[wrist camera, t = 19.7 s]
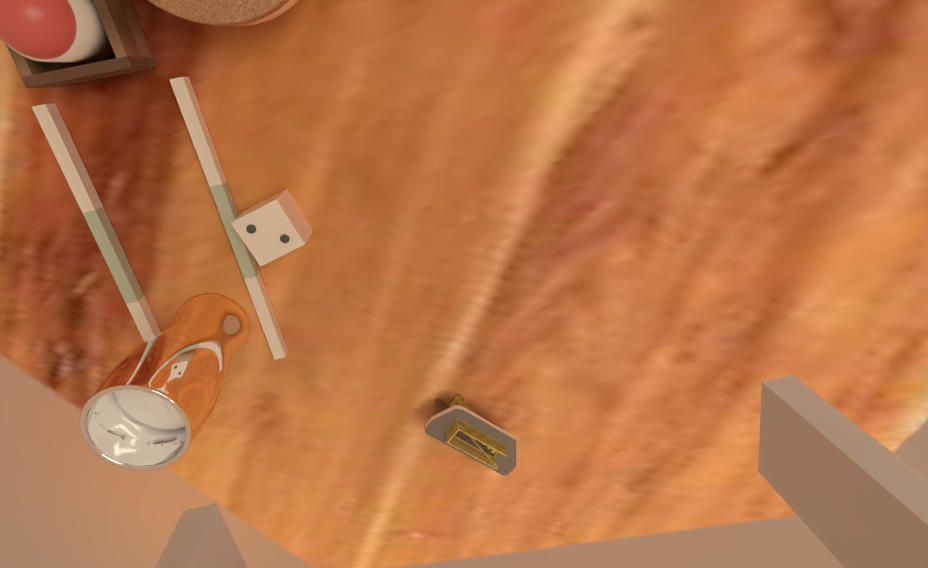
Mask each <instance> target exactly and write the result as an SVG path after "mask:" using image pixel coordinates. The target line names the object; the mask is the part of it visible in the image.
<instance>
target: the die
mask: <svg viewBox="0 0 928 568" xmlns="http://www.w3.org/2000/svg"><path fill="white" fill-rule="evenodd" d="M231 224H232V226H233V227H234V229H235V230H236V232H237V233H238V235H239V236H240V237H241V239H242V240H243V242H244V243H245V245H246V246H247V248H248V249H249V251H250V252H251V253H252V255H253V256H254V258H255V259H256V261H257V262H258V264H259V265H260V267H261V266H263V265H265V264H267V263H269V262H271V261H273V260H275V259H277V258H279V257H281V256H283V255H285V254H287V253H289V252H291V251H293V250H295V249H297V248H299V247H301V246H303V245H305V244H306V242H307V240H308V238H309V236H310V235H311V233H312V231H313V230H312V228H311V227H310V225H309V223H308V222H307V220H306V219H305V217H304V215H303V214H302V212H301V211H300V209H299V207H298V206H297V204H296V203H295V201H294V199H293V198H292V196H291V195H290V193H289V191H288V190H287V189H285V190H283V191H281V192H279V193H277V194H275V195H273V196H271V197H270V198H268V199H266V200H264V201H262V202H260V203H258V204H256V205H254V206H252V207H250V208H248V209H246V210H244V211H243V212H242V213H241V214H240V215H239V216H238V217H236V218H235V219H234V220H233V221H232V222H231Z"/></svg>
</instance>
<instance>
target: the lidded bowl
mask: <svg viewBox="0 0 928 568" xmlns="http://www.w3.org/2000/svg"><path fill="white" fill-rule="evenodd" d="M148 1H149V2H151V3H152V4H153V5H155V6H156V7H158V8H160V9H162V10H164V11H166V12H168V13H170V14H172V15H174V16H177V17H180V18H183V19H186V20H188V21H191V22H195V23H200V24H206V25H211V26H247V25H254V24H259V23H262V22H265V21H268V20H271V19H274V18H276V17H277V16H279V15H281V14H283V13H285V12H286V11H288V10H289V9H290V8H291V7H292V6H293V5H295V4H296V3H297V2H298V1H299V0H148Z"/></svg>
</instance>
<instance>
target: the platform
mask: <svg viewBox="0 0 928 568" xmlns="http://www.w3.org/2000/svg"><path fill="white" fill-rule="evenodd" d="M435 403H436V413H437V414H436V415H434V416H432V417H431V418H430V419H429V420H428V421H427V423H426V424H425V432H426V433H427V434H428V435H430V436H432V437H434V438H436V439H438V440H439V441H441V442H443V443H445V444H447V445H449V446H451V447H452V448H454V449H456V450H458V451H460V452H462V453H463V454H465V455H467V456H469V457H471V458H473V459H474V460H476V461H478V462H480V463H482V464H484V465H485V466H487V467H489V468H491V469H493V470H495V471H496V472H498V473H500V474H502V475H508V474H509V473H510V472H511V471H512V470H513V469H514V468H515V466H516V439H515V437H514V436H513V435H511V434H510V433H508V432H506V431H504V430H503V429H501V428H499V427H498V426H496V425H494V424H492V423H491V422H489V421H487V420H485V419H484V418H482V417H480V416H479V415H477V414H476V413H475V412H474V410H472V409H471V407H470V406H469V405H468V404H467V402H466V401H464V399H462V398H461V396H460V395H459V394H458V395H457V396H456V397H455V398H454V400H453V401H452V402H451V403H450V404H449V405H447V404H445V403H444V402H442V401H440V400H438V399H437V398H436V399H435ZM456 403H457V404H456ZM455 404H456V405H455Z"/></svg>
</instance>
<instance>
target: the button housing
mask: <svg viewBox="0 0 928 568" xmlns="http://www.w3.org/2000/svg"><path fill="white" fill-rule="evenodd" d="M93 2H94V4H95V7H96V9H97V11H98V14H99V16H100V19H101V21H102V24H103V26H104V29H105V31H106V34H107V36H108V39H109V41H110V43H111V46H112V48H113V51H114V53H115V56H116V58H115V59H110V60H105V61H100V62H95V63H90V64H85V65H80V66H74V67H69V68H64V65H63V63H62V62H41V61H35V60H32V59H29V58H26V57H24V56H22V55H20V54H18V53H17V52H15V51H14V50H13V49H11V48H10V47H9V46H8V45H7V44H6V45H7V47H8V49H9V51H10V53H11V56H12V58H13V60H14V62H15V64H16V66H17V68H18V70H19V72H20V74H21V77H22V79H23V81H24V83H25V85H26V87H27V88H38V87H60V86H67V85H72V84H77V83H82V82H87V81H92V80H97V79H102V78H107V77H112V76H118V75H123V74H128V73H133V72H138V71H143V70H148V69H153V68H157V67H156V64H155V61H154V59H153V56H152V53H151V51H150V48H149V46H148V43H147V40H146V38H145V35H144V32H143V30H142V27H141V25H140V22H139V19H138V17H137V14H136V11H135V9H134V6H133V4H132V1H131V0H93Z"/></svg>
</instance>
